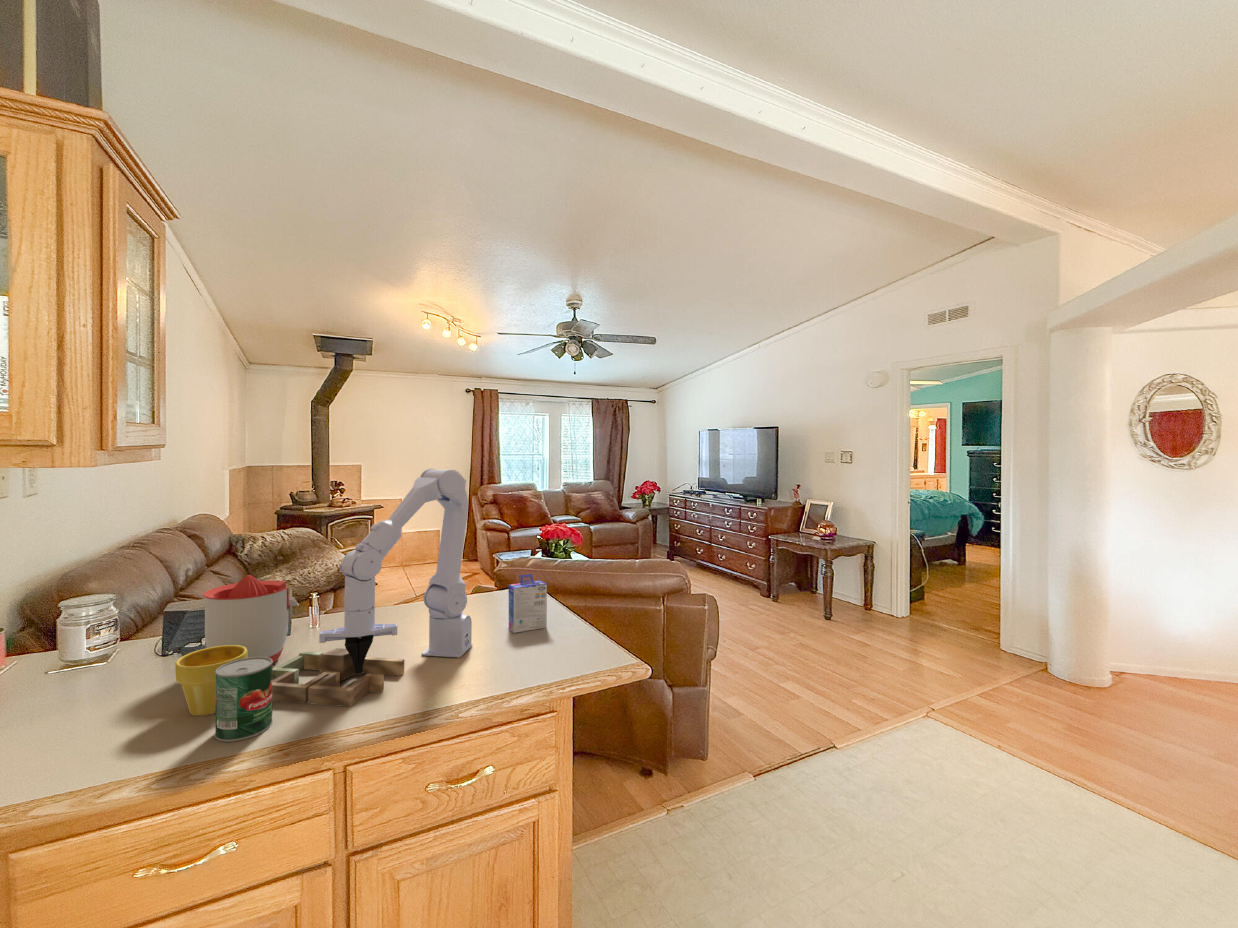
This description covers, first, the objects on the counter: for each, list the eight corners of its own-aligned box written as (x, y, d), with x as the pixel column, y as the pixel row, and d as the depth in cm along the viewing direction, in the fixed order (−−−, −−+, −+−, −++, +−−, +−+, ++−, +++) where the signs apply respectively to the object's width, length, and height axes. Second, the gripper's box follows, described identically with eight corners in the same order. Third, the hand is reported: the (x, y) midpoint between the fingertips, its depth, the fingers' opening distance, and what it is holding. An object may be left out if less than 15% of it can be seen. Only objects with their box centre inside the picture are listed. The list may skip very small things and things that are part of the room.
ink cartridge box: (540, 622, 144) (541, 571, 144) (547, 628, 139) (548, 575, 139) (506, 627, 139) (507, 575, 139) (513, 633, 134) (514, 579, 134)
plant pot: (188, 728, 86) (188, 671, 86) (166, 710, 92) (166, 657, 92) (257, 703, 95) (257, 651, 95) (233, 689, 100) (233, 640, 100)
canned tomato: (225, 721, 88) (225, 659, 88) (277, 714, 91) (278, 653, 91) (206, 746, 81) (207, 678, 81) (264, 737, 84) (265, 671, 84)
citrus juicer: (302, 664, 113) (303, 575, 112) (202, 686, 102) (202, 587, 101) (294, 643, 125) (294, 563, 124) (203, 660, 114) (203, 572, 114)
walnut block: (356, 673, 109) (358, 649, 109) (341, 680, 104) (343, 655, 104) (335, 671, 109) (336, 648, 110) (319, 679, 104) (321, 654, 105)
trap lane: (404, 672, 109) (404, 657, 109) (361, 707, 94) (361, 689, 94) (302, 666, 112) (303, 651, 112) (245, 698, 97) (245, 681, 97)
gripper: (398, 599, 112) (397, 660, 112) (323, 605, 107) (323, 669, 107) (397, 608, 106) (396, 672, 106) (317, 615, 100) (316, 683, 100)
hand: (359, 671), depth 106 cm, fingers closed
